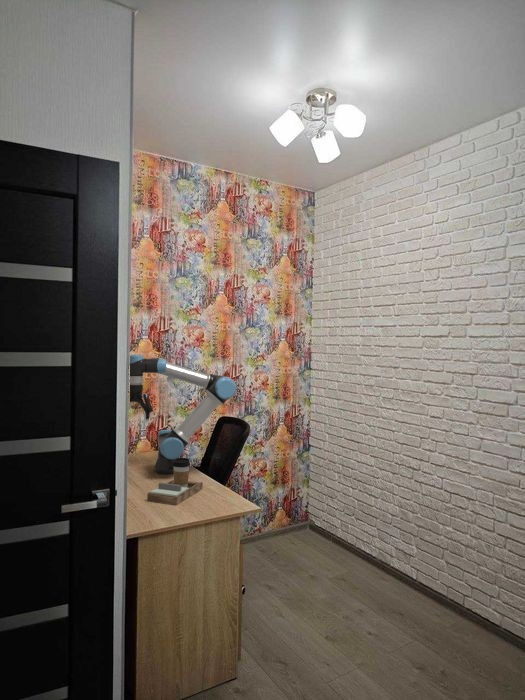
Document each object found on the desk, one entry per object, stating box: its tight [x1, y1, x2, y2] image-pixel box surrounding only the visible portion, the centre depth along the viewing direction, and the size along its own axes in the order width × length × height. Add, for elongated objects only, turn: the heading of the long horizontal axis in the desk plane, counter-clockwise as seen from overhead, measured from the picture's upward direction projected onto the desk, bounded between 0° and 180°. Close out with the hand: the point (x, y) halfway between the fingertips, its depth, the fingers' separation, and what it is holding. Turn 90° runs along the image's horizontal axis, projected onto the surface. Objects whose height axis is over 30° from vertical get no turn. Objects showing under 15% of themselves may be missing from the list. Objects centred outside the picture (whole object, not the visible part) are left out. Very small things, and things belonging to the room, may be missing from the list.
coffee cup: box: [173, 457, 191, 488], centre depth 234 cm, size 8×8×15 cm
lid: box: [150, 482, 189, 497], centre depth 223 cm, size 12×13×3 cm
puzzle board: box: [146, 479, 204, 506], centre depth 229 cm, size 26×15×4 cm, turn 161°
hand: (134, 424), depth 254 cm, fingers open, 13 cm apart
